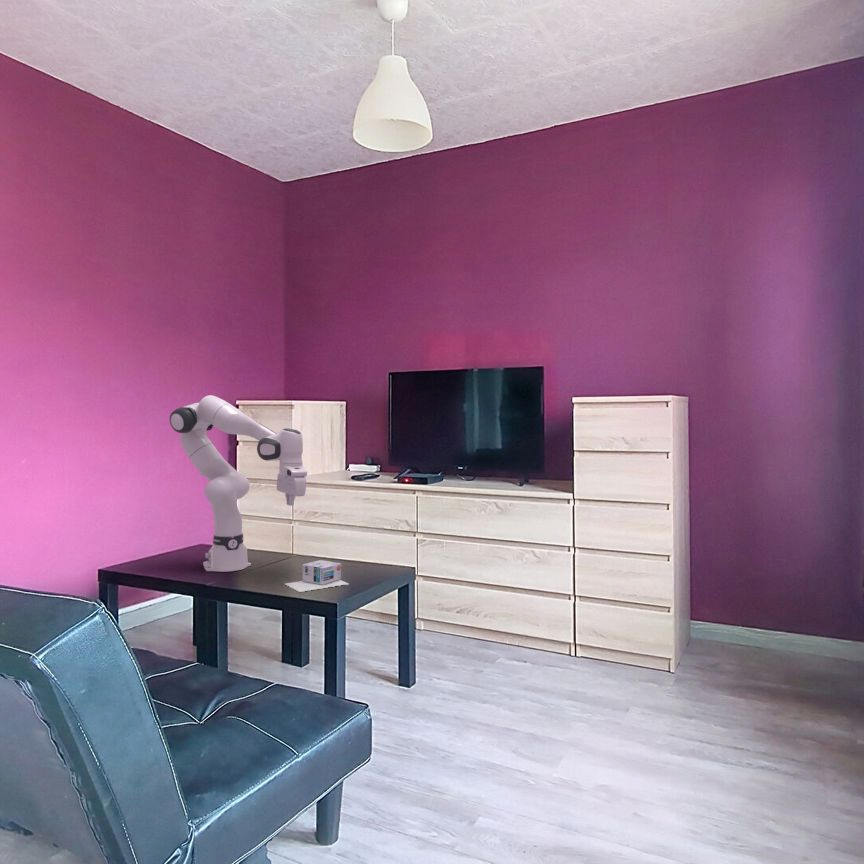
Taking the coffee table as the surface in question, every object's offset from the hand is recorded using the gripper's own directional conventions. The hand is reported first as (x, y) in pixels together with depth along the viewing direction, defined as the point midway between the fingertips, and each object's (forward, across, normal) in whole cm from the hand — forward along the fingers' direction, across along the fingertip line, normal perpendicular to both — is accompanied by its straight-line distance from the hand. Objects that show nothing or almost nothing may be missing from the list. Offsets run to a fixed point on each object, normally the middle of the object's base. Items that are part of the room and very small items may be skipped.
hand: (290, 505), depth 261 cm
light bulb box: (+24, +9, +6) cm, 27 cm away
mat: (+28, +17, +4) cm, 33 cm away
